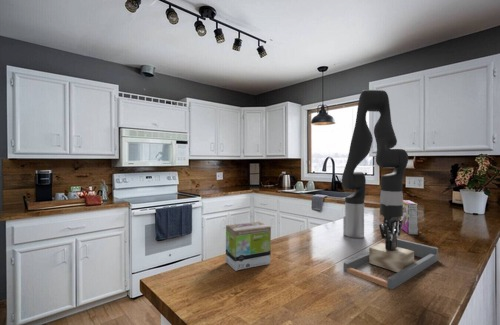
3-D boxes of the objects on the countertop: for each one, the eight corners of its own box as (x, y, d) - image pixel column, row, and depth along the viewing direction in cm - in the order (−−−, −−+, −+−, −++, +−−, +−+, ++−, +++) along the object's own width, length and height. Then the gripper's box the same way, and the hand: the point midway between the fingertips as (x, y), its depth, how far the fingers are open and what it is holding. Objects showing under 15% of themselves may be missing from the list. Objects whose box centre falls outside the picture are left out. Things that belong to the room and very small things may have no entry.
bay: (343, 270, 94) (343, 257, 94) (393, 248, 117) (393, 237, 117) (392, 289, 81) (392, 273, 80) (437, 260, 103) (438, 247, 103)
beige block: (369, 263, 100) (369, 231, 100) (381, 257, 105) (381, 227, 105) (402, 274, 90) (402, 239, 90) (414, 267, 96) (414, 234, 96)
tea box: (235, 272, 94) (235, 231, 94) (225, 262, 103) (224, 224, 102) (271, 264, 101) (271, 225, 100) (258, 255, 110) (258, 220, 109)
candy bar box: (400, 228, 149) (400, 200, 149) (409, 229, 148) (410, 200, 148) (407, 234, 138) (407, 203, 138) (418, 234, 137) (418, 203, 137)
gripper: (389, 199, 105) (389, 242, 105) (371, 203, 96) (371, 250, 96) (410, 202, 99) (410, 247, 99) (393, 206, 90) (392, 256, 90)
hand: (391, 248), depth 98 cm, fingers closed on beige block, 3 cm apart
